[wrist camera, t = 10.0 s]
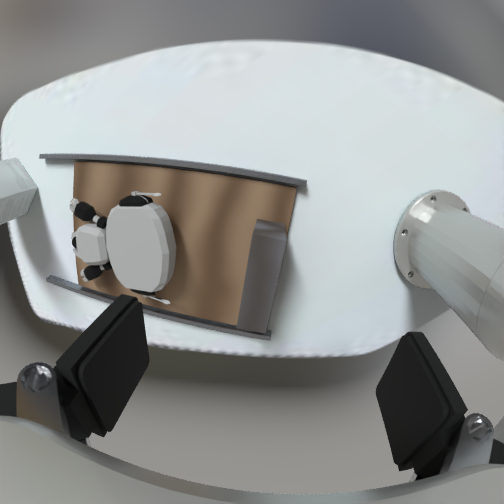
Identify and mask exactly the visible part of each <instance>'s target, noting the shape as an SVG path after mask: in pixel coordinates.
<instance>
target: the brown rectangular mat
mask: <svg viewBox="0 0 504 504" xmlns="http://www.w3.org/2000/svg"><path fill="white" fill-rule="evenodd" d="M296 189H297V188H296V187H291V186H286V185H281V184H275V183H270V182H264V181H259V180H253V179H247V178H241V177H234V176H228V175H221V174H214V173H207V172H200V171H192V170H184V169H175V168H166V167H156V166H146V165H134V164H121V163H106V162H86V161H75V164H74V187H73V198H75V199H78V200H79V201H80V202H81V201H83V202H86V203H88V204H89V205H91V206H93V207H94V209H95V212H96V214H97V216H99V217H102V216H105V217H107V218H108V216H109V213H110V211H111V209H113V208H114V207H116V206H117V205H119V202H120V200H121V199H123V198H125V197H127V196H129V195H132V193H131V192H134V191H139V193H160V194H161V196H152V195H145V196H148V197H150V198H152V200H153V202H154V203H156V204H158V205H161V206H162V207H163V208H164V210H165V211H166V213H167V214H168V216H169V219H170V222H171V225H172V228H173V233H174V238H175V243H176V259H175V268H174V273H173V276H172V278H171V279H170V281H169V282H168V283H167V284H166V285H165V286H164V287H163V289H162V290H159V291H158V292H157V293H156V294H155V295H152V296H155V297H158V298H161V299H163V300H168V301H169V302H170V304H165V303H163V302H161V301H158V300H155V299H152V298H150V297H144V296H143V295H141V294H137V293H135V292H132V291H131V290H130V289H129V288H125V287H124V286H123V285H122V284H121V282H120V281H119V280H118V279H117V277H116V275H115V273H114V271H113V268H112V269H110V270H107V271H106V270H105V269H104V271H103V273H102V274H101V276H100V277H98V278H96V279H93V280H90V281H88V282H84V280H83V279H82V278H84V275H83V276H82V277H81V275H80V272H81V271H82V270H83V269H85V268H86V267H87V266H89V265H88V264H86V263H84V262H83V260H82V259H81V258H79V257H77V256H76V265H77V275H78V283H79V285H80V286H83V287H87V288H90V289H93V290H96V291H99V292H103V293H106V294H109V295H113V296H116V297H119V296H120V295H121V294H125V295H130V296H134V297H137V298H138V301H139V302H141V303H142V304H145V305H149V306H153V307H156V308H160V309H164V310H168V311H173V312H177V313H181V314H185V315H190V316H194V317H198V318H203V319H208V320H212V321H217V322H222V323H227V324H232V325H237V327H236V328H238V329H243V330H248V331H254V332H260V333H266V329H267V325H268V321H269V317H270V313H271V308H272V304H273V300H274V296H275V291H276V287H277V283H278V278H279V274H280V269H281V265H282V260H283V256H284V251H285V247H286V242H287V233H288V229H289V224H290V219H291V214H292V209H293V204H294V199H295V194H296ZM73 219H74V232H75V231H77V230H78V228H79V227H81V226H83V225H85V224H87V223H90V222H92V221H82V220H81V219H79V218H78V217H76V216H75V215H74V212H73Z"/></svg>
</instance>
